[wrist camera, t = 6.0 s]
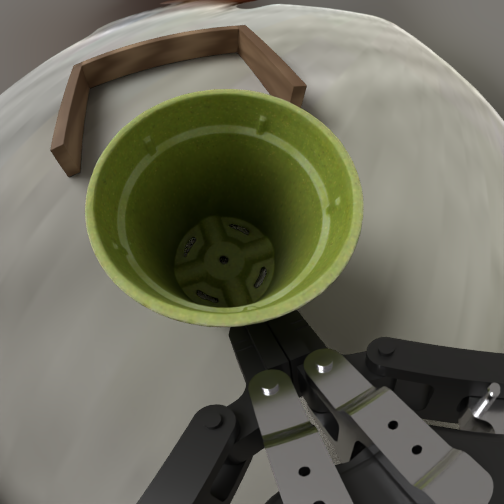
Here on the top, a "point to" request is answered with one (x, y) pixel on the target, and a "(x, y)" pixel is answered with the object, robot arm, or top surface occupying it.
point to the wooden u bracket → (156, 54)
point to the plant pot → (224, 207)
